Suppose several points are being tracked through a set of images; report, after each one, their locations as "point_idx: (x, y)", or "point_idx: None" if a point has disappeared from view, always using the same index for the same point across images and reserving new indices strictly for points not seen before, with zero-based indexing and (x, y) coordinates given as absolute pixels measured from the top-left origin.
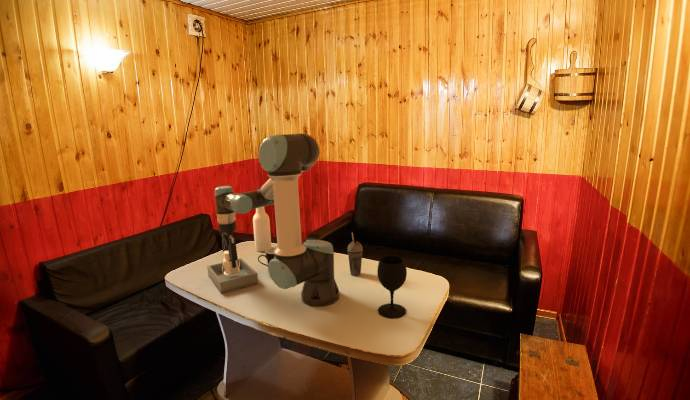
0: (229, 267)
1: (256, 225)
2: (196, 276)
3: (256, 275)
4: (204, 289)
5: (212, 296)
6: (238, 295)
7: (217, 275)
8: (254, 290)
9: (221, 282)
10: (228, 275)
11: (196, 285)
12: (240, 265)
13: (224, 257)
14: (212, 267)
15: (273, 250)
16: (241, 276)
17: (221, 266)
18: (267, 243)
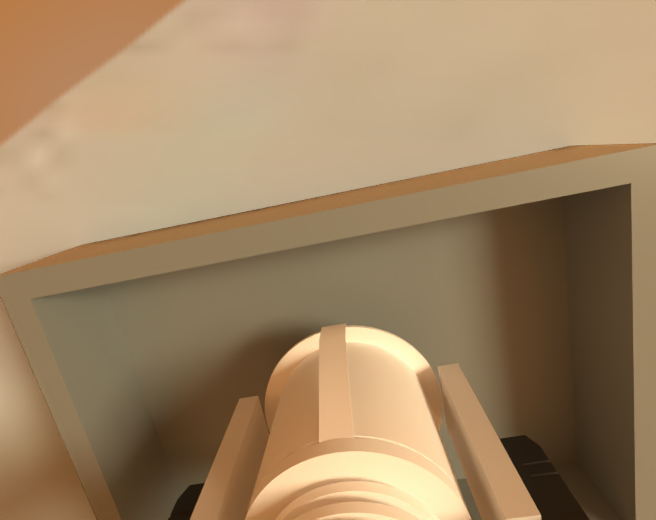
0: (267, 444)
1: None
2: (644, 7)
3: None
4: (233, 97)
5: (50, 169)
6: (16, 369)
7: (482, 242)
8: (74, 479)
9: (3, 293)
10: (424, 343)
11: (373, 10)
12: (587, 475)
13: (366, 515)
14: (610, 212)
15: None
16: (103, 491)
17: (605, 316)
18: None
